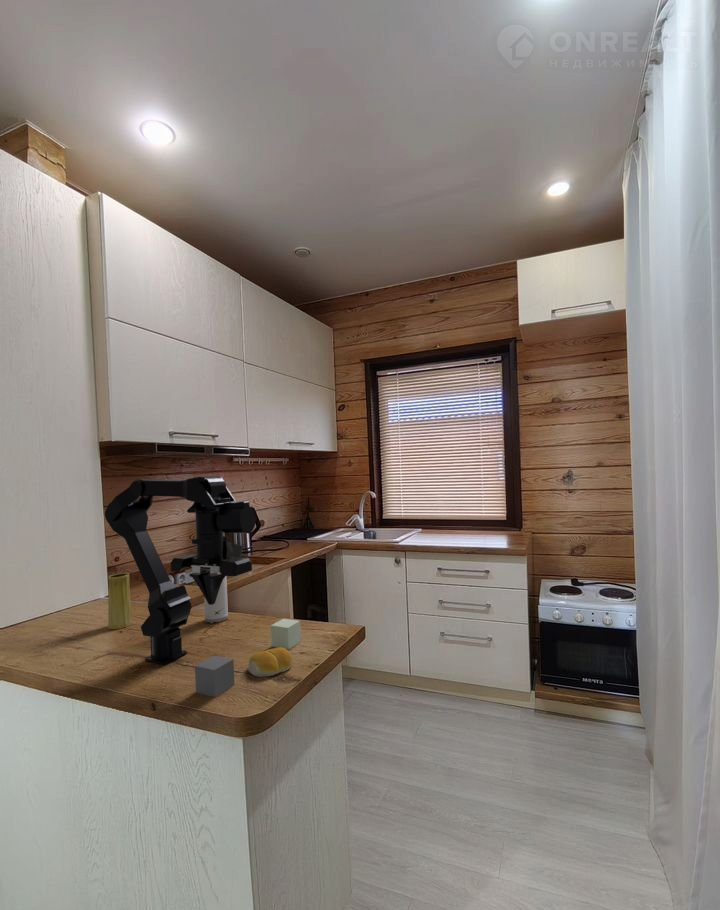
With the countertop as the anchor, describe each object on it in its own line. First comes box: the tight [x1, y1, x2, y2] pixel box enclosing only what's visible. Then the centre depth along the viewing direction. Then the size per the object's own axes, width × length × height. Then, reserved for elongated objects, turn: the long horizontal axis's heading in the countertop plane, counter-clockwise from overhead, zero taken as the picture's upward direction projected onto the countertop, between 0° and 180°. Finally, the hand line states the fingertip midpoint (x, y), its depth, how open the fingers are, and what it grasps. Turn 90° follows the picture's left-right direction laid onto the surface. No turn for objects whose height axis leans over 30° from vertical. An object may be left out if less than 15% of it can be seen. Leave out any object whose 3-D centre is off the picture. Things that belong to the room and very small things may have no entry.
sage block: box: [270, 618, 302, 650], centre depth 105 cm, size 5×5×5 cm
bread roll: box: [247, 647, 293, 678], centre depth 92 cm, size 8×9×4 cm
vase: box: [107, 572, 133, 630], centre depth 125 cm, size 6×6×14 cm
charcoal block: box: [194, 655, 235, 698], centre depth 84 cm, size 5×5×5 cm
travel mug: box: [203, 559, 229, 624], centre depth 126 cm, size 6×7×20 cm
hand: (211, 604), depth 96 cm, fingers closed
